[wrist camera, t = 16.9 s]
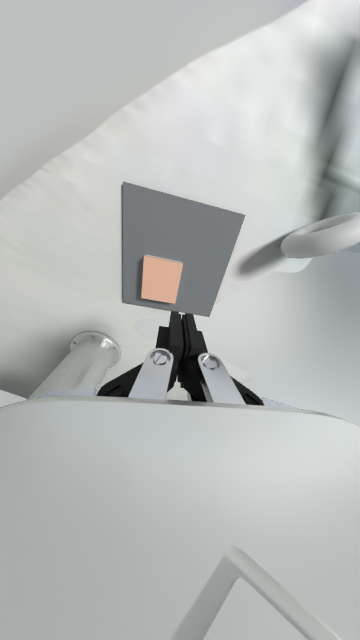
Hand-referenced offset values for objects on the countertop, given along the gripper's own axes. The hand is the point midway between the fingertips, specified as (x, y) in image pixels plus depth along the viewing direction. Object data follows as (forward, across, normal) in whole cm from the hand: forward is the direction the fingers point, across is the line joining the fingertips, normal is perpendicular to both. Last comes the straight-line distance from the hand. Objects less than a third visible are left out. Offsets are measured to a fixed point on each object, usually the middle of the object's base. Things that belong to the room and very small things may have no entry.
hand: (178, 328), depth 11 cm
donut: (+20, -21, -10) cm, 31 cm away
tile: (+19, -1, +2) cm, 19 cm away
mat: (+20, 0, -2) cm, 20 cm away
